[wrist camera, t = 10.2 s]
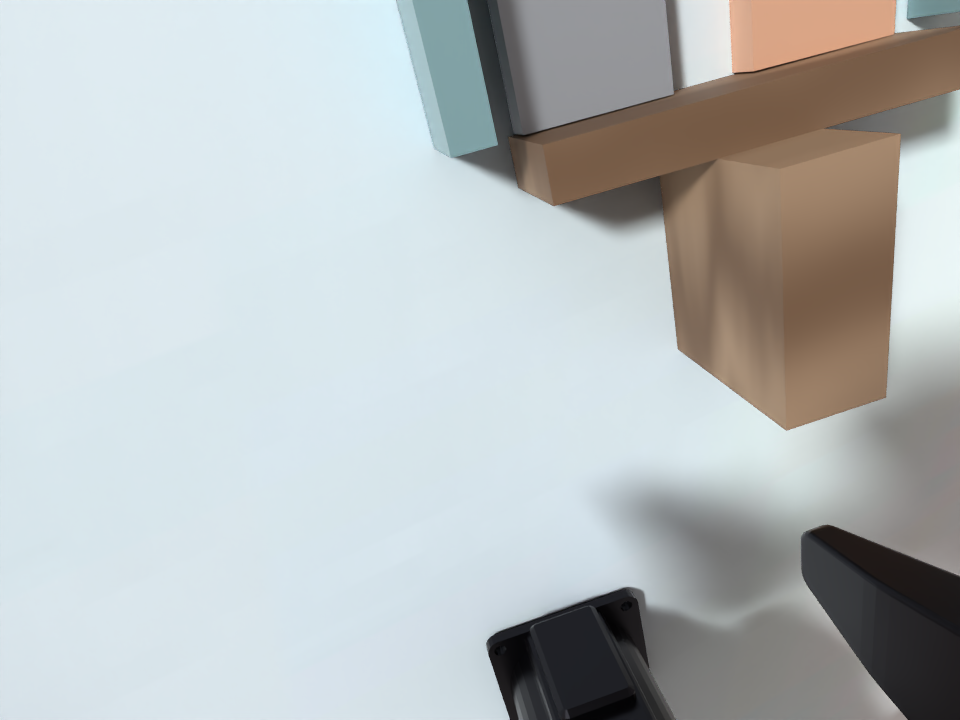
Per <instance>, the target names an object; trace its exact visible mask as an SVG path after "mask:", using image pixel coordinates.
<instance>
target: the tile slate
mask: <svg viewBox="0 0 960 720" xmlns="http://www.w3.org/2000/svg"><path fill="white" fill-rule="evenodd" d="M487 3H488V8H489V13H490V18H491V23H492V28H493V33H494V38H495V43H496V48H497V53H498V58H499V63H500V68H501V73H502V78H503V83H504V88H505V93H506V98H507V103H508V108H509V113H510V118H511V123H512V128H513V133H514V134H519V135H526V134H530V133H534V132H537V131H541V130H545V129H548V128H552V127H556V126H559V125H563V124H567V123H570V122H574V121H578V120H581V119H585V118H589V117H592V116H596V115H600V114H603V113H607V112H611V111H614V110H618V109H622V108H625V107H629V106H633V105H636V104H640V103H643V102H647V101H651V100H654V99H658V98H662V97H665V96H669V95H673V94H674V89H673V78H672V67H671V56H670V45H669V34H668V24H667V13H666V2H665V0H487Z"/></svg>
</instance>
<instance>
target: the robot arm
mask: <svg viewBox="0 0 960 720" xmlns="http://www.w3.org/2000/svg"><path fill="white" fill-rule="evenodd" d="M801 569H802V574H803V577H804V580H805V582H806V584H807V585H808V587H809V589H810V590H811V591H812V593H813V594H814V596H815V597H816V599H817V600H818V601H819V603H820V604H821V606H822V607H823V609H824V610H825V611H826V613H827V614H828V616H829V617H830V619H831V620H832V621H833V623H834V624H835V626H836V627H837V628H838V630H839V631H840V633H841V634H842V636H843V637H844V638H845V640H846V641H847V643H848V644H849V646H850V647H851V648H852V650H853V651H854V653H855V654H856V656H857V657H858V658H859V660H860V661H861V663H862V664H863V665H864V667H865V668H866V669H867V671H868V672H869V674H870V675H871V676H872V677H873V679H874V680H875V681H876V682H877V684H878V685H879V686H880V687H881V688H882V690H883V691H884V692H885V693H886V694H887V696H888V697H889V698H890V699H891V700H892V701H893V703H894V704H895V705H896V706H897V707H898V709H899V710H900V711H901V712H902V713H903V714H904V715H905V717H906V718H907V719H908V720H960V576H958V575H956V574H953V573H951V572H948V571H946V570H943V569H940V568H938V567H935V566H933V565H930V564H928V563H925V562H923V561H920V560H918V559H915V558H913V557H910V556H908V555H905V554H903V553H900V552H898V551H895V550H892V549H890V548H887V547H885V546H882V545H880V544H877V543H875V542H872V541H870V540H867V539H865V538H862V537H860V536H857V535H855V534H852V533H850V532H847V531H844V530H842V529H839V528H837V527H834V526H831V525H822V526H819V527H816V528H814V529H811V530H808V531H806V532H804V533H803V535H802V537H801ZM624 602H625V603H624ZM486 646H487V651H488V654H489V657H490V660H491V663H492V666H493V669H494V672H495V675H496V678H497V681H498V684H499V687H500V690H501V693H502V696H503V699H504V702H505V705H506V708H507V711H508V714H509V717H510V720H676V719H675V717H674V715H673V713H672V711H671V710H670V708H669V706H668V704H667V702H666V700H665V698H664V697H663V695H662V693H661V691H660V689H659V687H658V685H657V684H656V682H655V680H654V678H653V676H652V674H651V672H650V670H649V664H648V659H647V653H646V647H645V641H644V636H643V630H642V624H641V618H640V612H639V607H638V602H637V599H636V598H635V596H634V594H633V593H632V592H631V591H630V590H621V591H618V592H615V593H612V594H609V595H606V596H604V597H601V598H598V599H595V600H592V601H589V602H587V603H584V604H581V605H578V606H575V607H572V608H569V609H567V610H564V611H561V612H558V613H555V614H552V615H549V616H547V617H544V618H541V619H538V620H535V621H532V622H530V623H527V624H524V625H521V626H518V627H515V628H512V629H510V630H507V631H504V632H501V633H498V634H495V635H493V636H492V637H490V638H489V639H488V641H487V643H486ZM499 646H501V647H499Z"/></svg>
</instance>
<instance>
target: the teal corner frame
mask: <svg viewBox="0 0 960 720" xmlns="http://www.w3.org/2000/svg"><path fill="white" fill-rule="evenodd" d="M396 1H397V5H398V9H399V13H400V17H401V21H402V25H403V29H404V33H405V36H406V40H407V44H408V48H409V52H410V56H411V60H412V64H413V68H414V72H415V75H416V79H417V83H418V87H419V91H420V95H421V99H422V103H423V107H424V111H425V114H426V118H427V122H428V126H429V130H430V134H431V138H432V142H433V146H434V149H436V150H437V151H439V152H441V153H443V154H445V155H446V156H448V157H450V158H453V157H457V156H461V155H464V154H468V153H471V152H475V151H479V150H482V149H486V148H489V147H493V146H497V145H498V142H497V138H496V133H495V128H494V123H493V119H492V114H491V109H490V105H489V100H488V95H487V91H486V86H485V81H484V77H483V72H482V67H481V62H480V58H479V53H478V48H477V44H476V39H475V34H474V30H473V25H472V20H471V16H470V11H469V6H468V1H467V0H396ZM953 12H960V0H908V12H907V19H910V18H917V17H924V16H932V15H939V14H946V13H953Z"/></svg>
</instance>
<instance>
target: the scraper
mask: <svg viewBox="0 0 960 720" xmlns="http://www.w3.org/2000/svg"><path fill="white" fill-rule="evenodd" d="M959 89H960V26H953V27H944V28H936V29H927V30H918V31H910V32H901V33H894V35H890V36H886V37H882V38H879V39H875V40H871V41H867V42H863V43H860V44H856V45H852V46H848V47H844V48H841V49H837V50H833V51H829V52H825V53H822V54H818V55H814V56H810V57H806V58H803V59H799V60H795V61H791V62H787V63H784V64H780V65H776V66H772V67H768V68H764V69H761V70H757V71H752V72H741V73H738V74H734V75H730V76H727V77H723V78H719V79H716V80H712V81H709V82H705V83H701V84H698V85H694V86H690V87H687V88H683V89H679V90H676V91H674V94H673V95H669V96H665V97H662V98H658V99H654V100H651V101H647V102H643V103H640V104H636V105H633V106H629V107H625V108H622V109H618V110H614V111H611V112H607V113H603V114H600V115H596V116H592V117H589V118H585V119H581V120H578V121H574V122H570V123H567V124H563V125H559V126H556V127H552V128H548V129H545V130H541V131H537V132H534V133H530V134H526V135H519V134H516V135H512V136H509V137H508V140H509V145H510V150H511V154H512V159H513V164H514V169H515V174H516V179H517V184H518V188H520V189H522V190H523V191H525V192H527V193H529V194H531V195H533V196H535V197H537V198H539V199H541V200H543V201H545V202H547V203H549V204H551V205H553V206H556V205H559V204H563V203H566V202H570V201H573V200H577V199H580V198H584V197H587V196H591V195H594V194H598V193H601V192H605V191H608V190H612V189H615V188H618V187H622V186H625V185H629V184H632V183H636V182H639V181H643V180H646V179H650V178H653V177H657V176H659V177H660V187H661V196H662V205H663V215H664V224H665V233H666V243H667V252H668V261H669V271H670V280H671V289H672V299H673V308H674V318H675V327H676V336H677V346H678V350H680V351H681V352H682V353H684V354H685V355H686V356H688V357H689V358H690V359H692V360H693V361H694V362H696V363H697V364H698V365H700V366H701V367H702V368H704V369H705V370H706V371H708V372H709V373H710V374H712V375H713V376H714V377H716V378H717V379H718V380H720V381H721V382H722V383H724V384H725V385H726V386H728V387H729V388H730V389H732V390H733V391H734V392H736V393H737V394H738V395H740V396H741V397H742V398H744V399H745V400H746V401H748V402H749V403H750V404H752V405H753V406H754V407H756V408H757V409H758V410H760V411H761V412H762V413H764V414H765V415H766V416H768V417H769V418H770V419H772V420H773V421H774V422H776V423H777V424H778V425H780V426H781V427H782V428H784V429H785V430H786V431H787V430H790V429H793V428H796V427H799V426H802V425H805V424H808V423H811V422H814V421H817V420H820V419H823V418H826V417H829V416H832V415H835V414H838V413H841V412H844V411H847V410H850V409H853V408H856V407H859V406H862V405H865V404H868V403H871V402H874V401H877V400H880V399H883V398H886V388H887V370H888V353H889V335H890V317H891V299H892V282H893V264H894V246H895V228H896V211H897V193H898V175H899V158H900V140H901V134H897V133H882V132H867V131H852V130H836V129H824V128H827V127H831V126H834V125H838V124H841V123H844V122H848V121H851V120H855V119H858V118H862V117H865V116H869V115H872V114H876V113H879V112H883V111H886V110H890V109H893V108H897V107H900V106H904V105H907V104H911V103H914V102H917V101H921V100H924V99H928V98H931V97H935V96H938V95H942V94H945V93H949V92H952V91H956V90H959Z"/></svg>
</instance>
